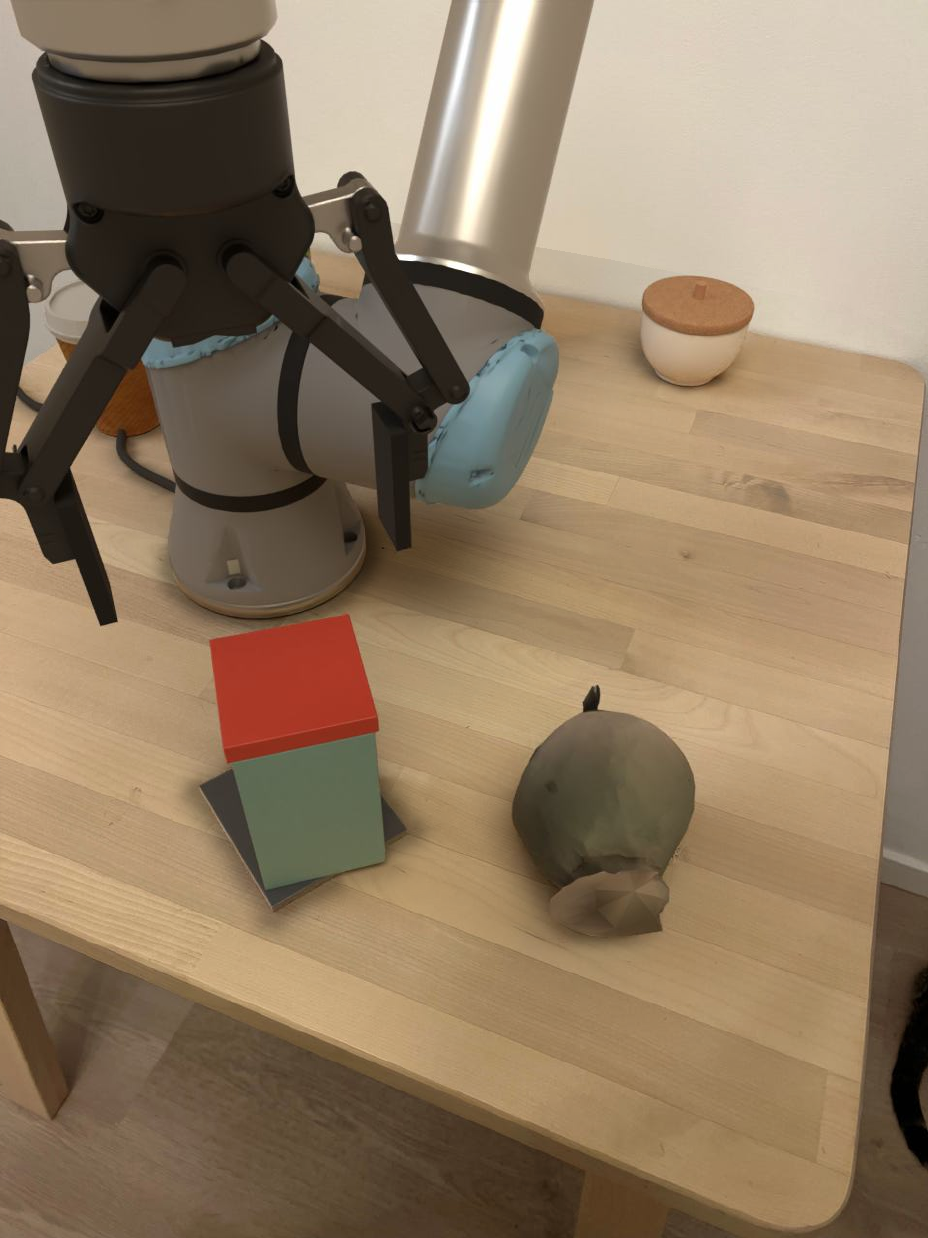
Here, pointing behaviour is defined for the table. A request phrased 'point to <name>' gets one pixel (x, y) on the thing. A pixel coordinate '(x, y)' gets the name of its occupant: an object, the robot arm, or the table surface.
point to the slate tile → (232, 819)
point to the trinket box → (693, 327)
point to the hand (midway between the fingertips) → (256, 567)
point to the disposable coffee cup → (134, 394)
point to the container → (302, 747)
